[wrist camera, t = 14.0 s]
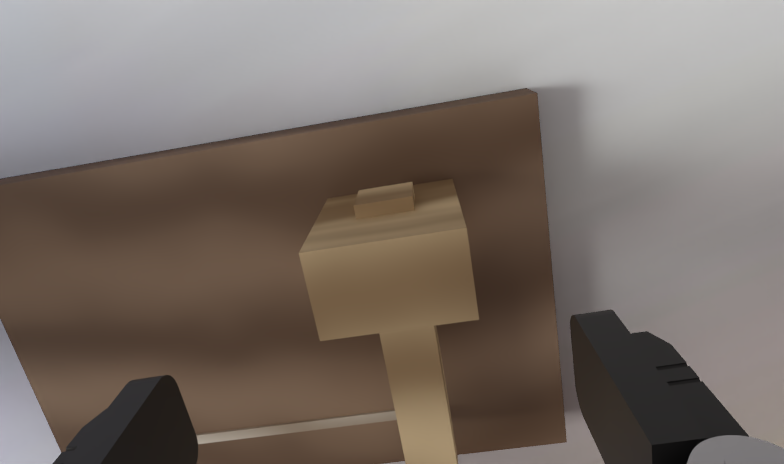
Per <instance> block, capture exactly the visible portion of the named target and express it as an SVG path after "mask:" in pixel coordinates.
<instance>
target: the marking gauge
mask: <svg viewBox="0 0 784 464" xmlns="http://www.w3.org/2000/svg"><path fill="white" fill-rule="evenodd" d="M299 257H300V261H301V265H302V269H303V273H304V277H305V281H306V286H307V290H308V294H309V298H310V302H311V306H312V310H313V314H314V318H315V323H316V327H317V331H318V335H319V339H320V341H325V340H333V339H340V338H347V337H355V336H362V335H369V334H377V333H379V334H380V339H381V344H382V349H383V354H384V359H385V364H386V369H387V374H388V379H389V384H390V389H391V394H392V399H393V403H394V408H395V413H396V418H397V423H398V428H399V433H400V438H401V443H402V448H403V453H404V458H405V463H406V464H458V459H457V449H456V443H455V437H454V431H453V425H452V419H451V412H450V406H449V400H448V394H447V388H446V382H445V376H444V370H443V364H442V358H441V352H440V346H439V340H438V334H437V328H436V325H443V324H450V323H457V322H465V321H472V320H479V314H478V307H477V300H476V292H475V285H474V278H473V270H472V263H471V256H470V248H469V241H468V234H467V227H466V224H465V220H464V217H463V213H462V210H461V207H460V203H459V200H458V196H457V193H456V189H455V186H454V183H453V179H447V180H441V181H435V182H428V183H422V184H416V185H413V182H407V183H401V184H395V185H389V186H382V187H376V188H370V189H364V190H359V191H358V194H353V195H347V196H340V197H334V198H328V199H327V201H326V203H325V205H324V206H323V208H322V210H321V212H320V214H319V216H318V218H317V220H316V221H315V223H314V225H313V227H312V229H311V231H310V233H309V235H308V236H307V238H306V240H305V242H304V244H303V246H302V248H301V250H300V252H299Z"/></svg>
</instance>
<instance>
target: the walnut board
mask: <svg viewBox="0 0 784 464" xmlns="http://www.w3.org/2000/svg"><path fill="white" fill-rule="evenodd" d="M447 179H453V183H454V186H455V189H456V193H457V196H458V200H459V203H460V207H461V210H462V213H463V217H464V220H465V224H466V227H467V234H468V241H469V248H470V256H471V263H472V270H473V278H474V285H475V292H476V300H477V307H478V314H479V320H472V321H465V322H457V323H450V324H443V325H436V328H437V334H438V340H439V346H440V352H441V358H442V364H443V370H444V376H445V382H446V388H447V394H448V400H449V406H450V412H451V419H452V425H453V431H454V437H455V443H456V449H457V455H459V454H468V453H477V452H485V451H494V450H503V449H511V448H520V447H529V446H537V445H546V444H555V443H563V442H567V441H566V429H565V417H564V405H563V393H562V381H561V370H560V358H559V346H558V334H557V322H556V310H555V299H554V287H553V275H552V263H551V251H550V239H549V228H548V216H547V204H546V192H545V180H544V168H543V157H542V145H541V133H540V121H539V109H538V97H537V93H536V92H534V91H531V90H529V89H527V88H525V89H519V90H513V91H508V92H502V93H496V94H490V95H484V96H479V97H473V98H467V99H461V100H455V101H450V102H444V103H438V104H432V105H426V106H420V107H415V108H409V109H403V110H397V111H391V112H386V113H380V114H374V115H368V116H362V117H357V118H351V119H345V120H339V121H333V122H328V123H322V124H316V125H310V126H304V127H299V128H293V129H287V130H281V131H275V132H269V133H264V134H258V135H252V136H246V137H240V138H235V139H229V140H223V141H217V142H211V143H206V144H200V145H194V146H188V147H182V148H177V149H171V150H165V151H159V152H153V153H148V154H142V155H136V156H130V157H124V158H119V159H113V160H107V161H101V162H95V163H89V164H84V165H78V166H72V167H66V168H60V169H55V170H49V171H43V172H37V173H31V174H26V175H20V176H14V177H8V178H2V179H0V319H1V321H2V323H3V325H4V328H5V330H6V332H7V334H8V336H9V339H10V341H11V343H12V345H13V347H14V349H15V352H16V354H17V356H18V358H19V360H20V363H21V365H22V367H23V369H24V371H25V374H26V376H27V378H28V380H29V382H30V384H31V387H32V389H33V391H34V393H35V395H36V398H37V400H38V402H39V404H40V406H41V408H42V411H43V413H44V415H45V417H46V419H47V422H48V424H49V426H50V428H51V430H52V433H53V435H54V437H55V439H56V441H57V443H58V446H59V448H60V450H61V452H65V451H66V447H67V446H68V444H69V443H70V442H71V441H72V440H73V438H74V437H75V436H76V435H77V433H78V432H79V431H80V430H81V428H82V427H84V426H85V425H86V424H87V423H89V422H90V421H91V420H92V419H94V418H95V417H96V416H98V415H99V414H100V413H101V412H103V411H104V410H105V409H107V408H108V407H109V406H110V404H111V403H112V402H113V401H114V399H115V398H116V397H117V395H118V394H119V393H120V392H121V390H122V389H123V388H124V387H125V385H126V384H127V383H128V382H129V381H131V380H135V379H142V378H149V377H156V376H162V375H170V376H172V377H173V378H174V379H175V381H176V382H177V385H178V387H179V390H180V393H181V395H182V398H183V401H184V403H185V406H186V409H187V411H188V414H189V417H190V419H191V422H192V425H193V428H194V430H195V433H196V436H197V440H198V459H197V464H382V463H390V462H399V461H405V458H404V453H403V448H402V443H401V438H400V433H399V428H398V423H397V418H396V413H395V408H394V403H393V399H392V394H391V389H390V384H389V379H388V374H387V369H386V364H385V359H384V354H383V349H382V344H381V339H380V334H379V333H377V334H369V335H362V336H355V337H347V338H340V339H333V340H325V341H320V339H319V335H318V331H317V327H316V323H315V318H314V314H313V310H312V306H311V302H310V298H309V294H308V290H307V286H306V281H305V277H304V273H303V269H302V265H301V261H300V257H299V252H300V250H301V248H302V246H303V244H304V242H305V240H306V238H307V236H308V235H309V233H310V231H311V229H312V227H313V225H314V223H315V221H316V220H317V218H318V216H319V214H320V212H321V210H322V208H323V206H324V205H325V203H326V201H327V199H328V198H334V197H340V196H347V195H353V194H358V191H359V190H364V189H370V188H376V187H382V186H389V185H395V184H401V183H407V182H413V185H416V184H422V183H428V182H435V181H441V180H447Z"/></svg>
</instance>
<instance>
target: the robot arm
mask: <svg viewBox="0 0 784 464" xmlns="http://www.w3.org/2000/svg"><path fill="white" fill-rule="evenodd" d="M570 327H571V340H572V351H573V363H574V375H575V385H576V392H577V397H578V401H579V405H580V408H581V411H582V414H583V417H584V419H585V421H586V424H587V426H588V428H589V430H590V432H591V434H592V436H593V439H594V441H595V443H596V445H597V447H598V449H599V452H600V454H601V456H602V458H603V460H604V462H605V464H784V449H783V448H781V447H779V446H777V445H775V444H772V443H770V442H767V441H764V440H761V439H757V438H752V437H749V436H748V434H747V433H746V432H745V431H744V430H743V429H742V427H741V426H740V425H739V424H738V423H737V422H736V420H735V419H734V418H733V417H732V416H731V414H730V413H729V412H728V411H727V410H726V409H725V407H724V406H723V405H722V404H721V403H720V402H719V400H718V399H717V398H716V397H715V396H714V394H713V393H712V392H711V391H710V390H709V389H708V387H707V386H706V385H705V384H704V383H703V382H700V380H699V377H698V376H697V374H696V373H695V372H694V371H693V370H692V369H691V367H690V366H687V364H686V361H685V360H684V359H683V358H682V357H681V356H680V354H679V353H678V352H677V351H676V350H675V349H674V347H673V346H672V345H671V344H669V343H667V342H665V341H664V340H662V339H660V338H658V337H656V336H654V335H653V334H651V333H649V332H647V331H646V332H639V333H632V334H630V332H629V331H628V330H627V328H626V327H625V326H624V324H623V323H622V322H621V320H620V319H619V318H618V316H617V315H616V314H615V312H614V311H613V310H605V311H599V312H592V313H585V314H579V315H572V316H571V321H570ZM197 459H198V440H197V436H196V433H195V430H194V428H193V425H192V422H191V419H190V417H189V414H188V411H187V409H186V406H185V403H184V401H183V398H182V395H181V393H180V390H179V387H178V385H177V382H176V381H175V379H174V378H173V377H172V376H170V375H162V376H156V377H149V378H142V379H135V380H131V381H129V382H128V383H127V384H126V385H125V387H124V388H123V389H122V390H121V392H120V393H119V394H118V395H117V397H116V398H115V399H114V401H113V402H112V403H111V404H110V406H109V407H108V408H107V409H105V410H104V411H103V412H101V413H100V414H99V415H98V416H96V417H95V418H94V419H92V420H91V421H90V422H89V423H87V424H86V425H85V426H84V427H82V428H81V430H80V431H79V432H78V433H77V435H76V436H75V437H74V438H73V440H72V441H71V442H70V443H69V444H68V446H67V447H66V451H65V452H62V453H61V454H60V455H59V457H58V458H57V459H56V460H55V462H54V463H53V464H197Z"/></svg>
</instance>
